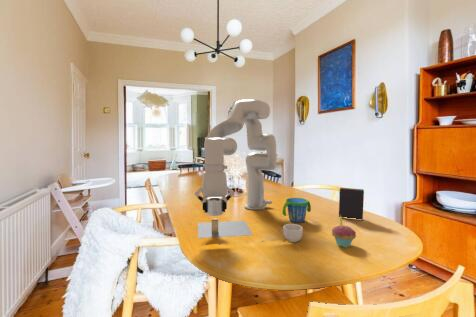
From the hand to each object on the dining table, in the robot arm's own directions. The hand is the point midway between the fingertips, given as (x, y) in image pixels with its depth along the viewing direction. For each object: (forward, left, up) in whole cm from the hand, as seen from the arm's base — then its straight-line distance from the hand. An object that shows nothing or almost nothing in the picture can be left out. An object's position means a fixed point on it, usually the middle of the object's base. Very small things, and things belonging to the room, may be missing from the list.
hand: (214, 211), depth 108 cm
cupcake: (-48, +16, -11) cm, 52 cm away
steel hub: (0, 0, -1) cm, 1 cm away
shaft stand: (-4, -4, -11) cm, 12 cm away
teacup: (-31, +8, -11) cm, 34 cm away
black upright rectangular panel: (-69, -13, -11) cm, 71 cm away
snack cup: (-41, -14, -11) cm, 45 cm away
